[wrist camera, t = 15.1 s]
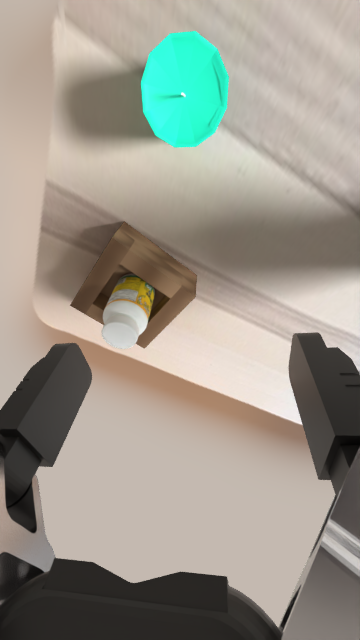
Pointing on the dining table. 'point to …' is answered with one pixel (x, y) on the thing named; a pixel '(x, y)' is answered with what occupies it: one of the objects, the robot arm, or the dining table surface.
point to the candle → (184, 89)
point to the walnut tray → (150, 265)
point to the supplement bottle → (127, 311)
